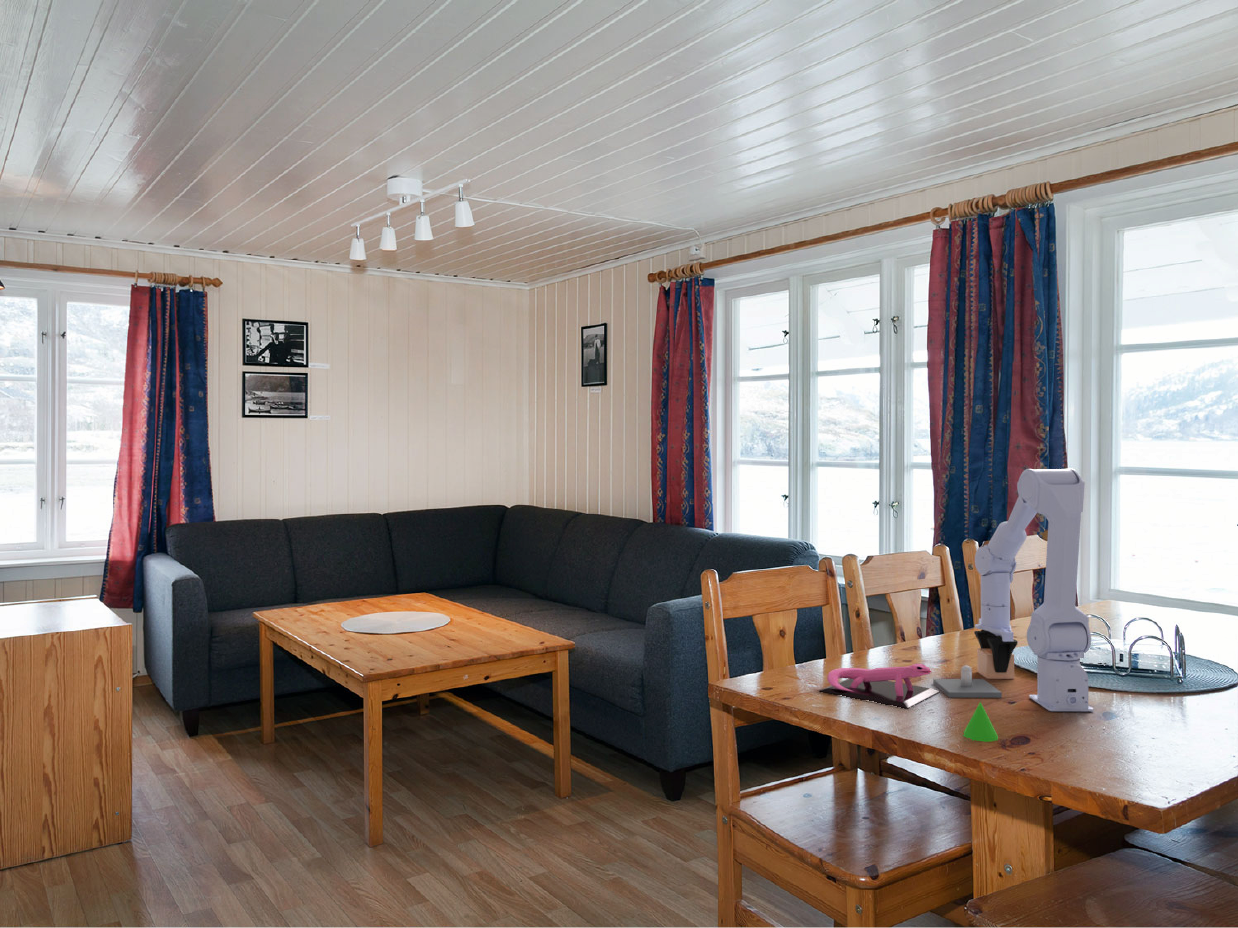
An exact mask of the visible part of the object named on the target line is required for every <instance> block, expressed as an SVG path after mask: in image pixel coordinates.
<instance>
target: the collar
mask: <svg viewBox="0 0 1238 928" xmlns="http://www.w3.org/2000/svg"><path fill="white" fill-rule="evenodd" d="M976 651H977V652H976V653H977V655H976V658H977V660H976V661H977V662H976V664H977V668H976V669H977V670H976V671H977V672H976V673H978V674H979V675H981V676H982V677H984V678H985V679H986V680H987V679H988V680H989V679H990V680H991V679H992V680H994V679H996V680H997V679H998V680H999V679H1002V680H1004V679H1007V680H1009V679H1010V680H1011V679H1013V680H1015V654H1013V653H1012V655H1011V658H1010V661H1009V665H1008V669H1007V672H1006V673H997V672H995V668H994V662H993V655H992V651H991V649H981V648H977V649H976Z"/></svg>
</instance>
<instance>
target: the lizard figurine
mask: <svg viewBox="0 0 1238 928" xmlns="http://www.w3.org/2000/svg"><path fill="white" fill-rule="evenodd" d="M932 673H933V672H932V670H931V668H930V667H928V666H926V664H923V663H914V664H911V665H907V666H893V667H892V666H889V667H875V668H871V669H870V668H869V669H868V668H860V667H840V668H835V669H833V670H831V671H829V673H828V674H827V682H828V684H830V686H826V687H824V688H822V689H820V690H818V692H819V693H821V692H823V694H826V693H827V695H832V694H833V696H837V695H842V696H846V697H845V698H847V697H850V698H849V699H852V698H855V699H854V700H857V699H860V700H859V701H862V700H869V701H874V702H877V703H881V704H880V705H882V704H885V705H884V706H887V705H893V706H897V707H896V708H898V707H901V708H900V709H903V708H904V710H910V709H911V708H913V707H915V706H917V705H919V704H921V703H923V702H925V701H926V700H928V699H931V698H932V697H934V696H936V695H939V694H940V691H941V690H938V689H937V690H936V689H934V688H931V687H925V686H918V685H914V684H912V681H911V680H910V678H913V679H914V678H917V677H922V676H925V675H930V674H932ZM839 679H843V680H841V681H839ZM903 681H904V683H903ZM842 696H841V697H842ZM924 700H925V701H924ZM877 703H876V704H877ZM914 705H915V706H914ZM910 707H911V708H910Z"/></svg>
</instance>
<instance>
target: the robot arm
mask: <svg viewBox="0 0 1238 928" xmlns="http://www.w3.org/2000/svg"><path fill="white" fill-rule="evenodd" d="M1016 484H1017V485H1016V486H1017V487H1016V488H1017V489H1016V490H1017V494H1018V497H1017V499H1016V501H1015V504H1014V506H1013V509H1012V511H1011V513H1010V515H1009V518H1008V520H1007V521H1003V522H1000V523H999V524H998V526H997V528H996V530H995V531H994V533H993V535H992V536H991V538H990V540H989V541H988V543H987V544H984V545H983V546H980V547H978V548H977V549H976V552H975V555H974V566H975V569H976V570H977V572H978V574H980V618H978V623H976V624H975V625H974V627H975V629H977V630H975V631H973V633H974V635H975V637H976V639H977V641H978V644H979V646H980V647H979V648H980V649H991V651H992V655H993V662H994V668H995V672H997V673H1006V672H1007V669H1008V665H1009V661H1010V658H1011V655H1012V654H1013V652H1014V650H1015V649H1016V647H1017V646H1018V640H1016V639H1014V631H1012V625H1011V583H1012V582H1013V581H1014V573H1015V572H1016V568H1017V561H1016V557H1017V554H1018V553H1019V551H1020V550H1021V548H1022V546H1023V545H1024V543H1025V541H1026V540H1027V537H1028V535H1027V532H1026V528H1027V527H1029V524H1030V523H1031V522H1032V520H1033V519H1034V517H1036V515H1037V514H1039V515H1042V516H1044V517H1045V518H1046V520H1047V521H1048V526H1047V529H1048V530H1047V541H1046V542H1047V545H1046V561H1045V573H1044V574H1045V575H1044V576H1045V577H1044V580H1045V581H1044V593H1043V603H1042V604H1040V606H1038V607H1037V608H1036V609H1034V611H1032V612H1031V614H1030V615H1031V618H1030V623H1029V625H1028V628H1027V630H1026V641H1027V645H1028V647H1029V649H1030V650H1031V651H1032V652H1033V655H1035V656H1037V657H1036V658H1037V659H1036V660H1037V661H1036V662H1037V664H1036V665H1037V666H1036V667H1037V669H1036V670H1037V673H1036V675H1037V678H1036V679H1037V680H1036V682H1037V692H1036V693H1037V694H1029V695H1028V697H1029V698H1030V699H1031V700H1033V702H1035V703H1037V704H1039V705H1040V706H1041V707H1042V708H1044V709H1046V710H1047V711H1049V712H1094V708H1093V707H1092V706H1090V705H1089V676H1088V673H1087V672H1086V670H1085V669H1084V668H1083V666H1082V665H1081V664H1082V663H1080V658H1084V653H1086V652H1087V651H1088V650H1089V648H1090V645H1091V642H1092V634H1091V630H1090V626H1089V625H1090V618H1089V616H1088V615H1087V614H1086V613H1085V612H1084V611H1082V610H1081V609H1080V608H1079V607H1077V606H1076V603H1077V602H1076V601H1077V599H1076V598H1077V585H1078V570H1079V553H1080V552H1079V551H1080V537H1081V536H1080V535H1081V522H1082V513H1083V511H1084V501H1085V500H1084V499H1085V484H1086V483H1085V481H1084V479H1083V477H1082V476H1081V475H1080V474H1079V472H1078V471H1077V470H1076V469H1074V468H1071V467H1069V468H1061V469H1060V468H1059V469H1057V468H1056V469H1050V468H1049V469H1045V468H1043V469H1032V468H1026V469H1024V470H1023V471H1022V473H1021V474H1020V476H1019V478H1018V481H1017V483H1016Z"/></svg>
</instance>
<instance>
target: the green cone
mask: <svg viewBox="0 0 1238 928" xmlns="http://www.w3.org/2000/svg"><path fill="white" fill-rule="evenodd" d="M963 733H964V735H962V737H963V736H964V737H963V738H967V739H968V738H970V739H969V740H971V739H972V740H971V741H975V740H976V741H977V742H985V743H988V742H989V743H990V742H995V741H998V740H999V735H998V734H997V731H996V729H995V728H994V726H993V724H992V721H991V720H990V717H989V716H988V714H987V711H986V710H985V708H984V706H983V704H982V702H981V701H980V702H979V703H978V705H977V707H976V709H975V711H974V712H973V714H972V716H971V718H970V719H969V721H968V723H967V725H966V727H965V729H964V731H963Z"/></svg>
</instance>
